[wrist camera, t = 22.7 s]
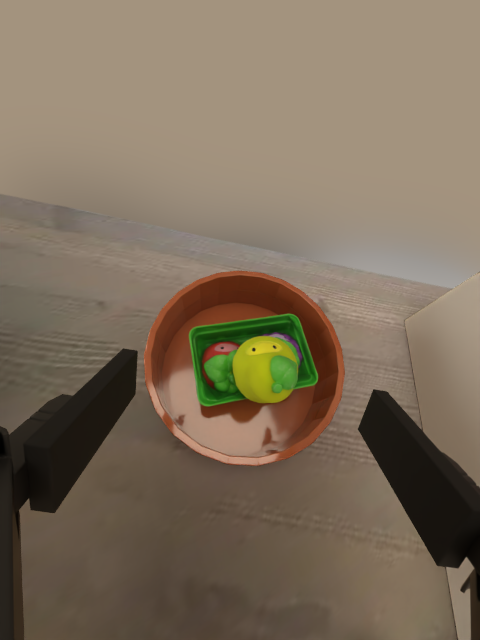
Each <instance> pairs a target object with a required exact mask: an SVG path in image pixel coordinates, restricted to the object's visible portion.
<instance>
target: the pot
mask: <svg viewBox="0 0 480 640" xmlns="http://www.w3.org/2000/svg"><path fill="white" fill-rule="evenodd" d="M283 314H294V315H295V316H297V317H298V319H299V321H300V323H301V326H302V329H303V332H304V335H305V338H306V341H307V344H308V347H309V350H310V353H311V356H312V359H313V362H314V366H315V368H316V371H317V374H318V381H317V383H316V384H315V385H313V386H309V387H303V388H298V389H293V391H292V392H291V394H290V395H289V396H288V397H287V398H286V399H284V400H282V401H280V402H277V403H257V402H254V401H251V400H249V399H243V400H238V401H233V402H228V403H223V404H219V405H214V406H209V407H208V406H203V405H202V404H200V402H199V401H198V398H197V391H196V383H195V375H194V368H193V361H192V354H191V347H190V341H189V332H190V330H191V329H192V328H194V327H197V326H204V325H212V324H219V323H227V322H234V321H240V320H248V319H256V318H263V317H269V316H276V315H283ZM144 366H145V383H146V386H147V389H148V392H149V394H150V397H151V400H152V403H153V406H154V408H155V411H156V412H157V414H158V415H159V416H160V418H161V419H162V420H163V422H164V423H165V424H166V426H167V427H168V429H169V430H170V431H171V433H172V434H173V435H174V436H175V437H177V438H178V439H179V440H181V441H182V442H183V443H185V444H186V445H187V446H189V447H190V448H191V449H193V450H194V451H195V452H197V453H198V454H201V455H203V456H206V457H209V458H212V459H214V460H217V461H220V462H222V463H225V464H230V465H249V466H261V465H265V464H269V463H272V462H276V461H280V460H284V459H287V458H290V457H291V456H293V455H294V454H296V453H298V452H299V451H301V450H303V449H304V448H306V447H307V446H309V445H311V444H312V443H313V442H314V441H315V440H316V439H317V437H318V436H319V435H320V434H321V433H322V432H323V430H324V429H325V428H326V427H327V426H328V425H329V423H330V422H331V420H332V418H333V416H334V413H335V411H336V409H337V407H338V404H339V402H340V400H341V397H342V390H343V382H344V375H345V370H344V363H343V355H342V348H341V346H340V343H339V341H338V338H337V335H336V333H335V330H334V328H333V326H332V324H331V323H330V321H329V320H328V318H327V317H326V315H325V314H324V313H323V311H322V310H321V308H320V307H319V306H318V305H317V304H316V303H315V302H314V301H313V300H312V299H310V298H309V297H308V296H307V295H306V294H305V293H304V292H302V291H301V290H300V289H298V288H296V287H294V286H293V285H291V284H289V283H288V282H286V281H284V280H282V279H279V278H276V277H273V276H270V275H267V274H264V273H258V272H248V271H231V272H221V273H216V274H213V275H210V276H208V277H205V278H202V279H199V280H197V281H195V282H193V283H192V284H190V285H189V286H187V287H185V288H184V289H182V290H181V291H179V292H178V293H177V294H176V295H175V296H174V297H173V298H172V299H171V300H170V301H169V302H168V303H167V304H166V305H165V306H164V307H163V308H162V310H161V311H160V313H159V315H158V317H157V319H156V320H155V322H154V324H153V326H152V328H151V330H150V332H149V336H148V341H147V345H146V350H145V354H144Z"/></svg>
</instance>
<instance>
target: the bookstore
mask: <svg viewBox="0 0 480 640" xmlns="http://www.w3.org/2000/svg"><path fill="white" fill-rule="evenodd" d="M404 321H405V327H406V333H407V339H408V345H409V351H410V357H411V363H412V369H413V375H414V381H415V387H416V393H417V398H418V404H419V410H420V416H421V422H422V428H423V432H424V433H425V435H426V436H427V437H428V438H429V439H430V440H431V441H432V442H433V443H434V445H435V446H436V447H437V448H438V449H439V450H440V451H441V452H443V453H445V454H446V455H448V456H449V457H450V458H451V459H453V460H454V461H455V462H457V463H458V464H459V466H460V467H461V468H462V469H463V470H464V471H465V472H466V473H467V474H468V476H470V477H471V478H472V480H473V481H474V482H475V483H476V485H477V486H479V487H480V272H478V273H477V274H475V275H474V276H472V277H471V278H469V279H468V280H466V281H464V282H463V283H461V284H460V285H458V286H457V287H455V288H454V289H452V290H451V291H449V292H448V293H446V294H444V295H443V296H441V297H440V298H438V299H437V300H435V301H434V302H432V303H431V304H429V305H427V306H426V307H424V308H423V309H421V310H420V311H418V312H417V313H415V314H414V315H412V316H411V317H409V318H407V319H406V320H404ZM473 569H474V567H473V566H472V564H471V563H470V561H469V560H468V558H467V557H466V558H465V559H464V561H463V562H462V564H461V565H460V567H459V568H458V569H457V568H450V567H446V571H447V577H448V583H449V589H450V595H451V601H452V607H453V612H454V618H455V624H456V630H457V636H458V640H471V615H470V589H467V590H466V592H465V593H463V592H461V591H460V589H461V586H462V585H463V583H464V582H465V580H466V579H467V578H468V576H469V575H470V573H471V572H472V571H473Z"/></svg>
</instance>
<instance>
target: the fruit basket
mask: <svg viewBox="0 0 480 640" xmlns="http://www.w3.org/2000/svg"><path fill="white" fill-rule="evenodd" d="M189 341H190V347H191V354H192V361H193V368H194V375H195V383H196V391H197V398H198V401H199V402H200V404H202V405H203V406H208V407H209V406H214V405H219V404H223V403H228V402H233V401H238V400H243V399H249V400H251V401H254V402H257V403H277V402H280V401H282V400H284V399H286V398H287V397H288V396H289V395H290V394H291V392H292V391H293V389H298V388H303V387H309V386H313V385H315V384H316V383H317V381H318V374H317V371H316V368H315V366H314V362H313V359H312V356H311V353H310V350H309V347H308V344H307V341H306V338H305V335H304V332H303V329H302V326H301V323H300V321H299V319H298V317H297V316H295V315H294V314H283V315H276V316H269V317H263V318H256V319H248V320H240V321H234V322H227V323H219V324H212V325H204V326H197V327H194V328H192V329H191V330H190V332H189Z"/></svg>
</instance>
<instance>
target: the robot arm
mask: <svg viewBox="0 0 480 640" xmlns="http://www.w3.org/2000/svg"><path fill="white" fill-rule="evenodd" d="M137 352H138V351H135V350H129V349H122V350H121V351H120V352H119V353H118V354H117V355H116V356H115V357H114V358H113V359H112V360H111V361H110V362H109V363H108V364H107V365H105V366H104V367H103V368H102V369H101V370H100V371H99V372H98V373H97V374H96V375H95V376H94V377H93V378H92V379H91V380H90V381H89V382H88V383H86V384H85V385H84V386H83V387H82V388H81V389H80V390H79V391H78V392H77V393H76V394H75V395H74V396H70V395H64V394H62V395H60V396H58V397H56V398H54V399H52V400H50V401H48V402H47V403H46V404H45V405H44V406H43V407H41V408H40V409H39V411H38V412H36V413H34V414H33V415H32V416H31V417H30V419H27V420H26V421H25V422H24V423H23V424H22V425H20V426H19V427H18V428H17V429H16V430H14V431H13V432H12V433H11V434H10V435H9V434H8V432H7V429H5V428H3V427H1V426H0V640H24V620H23V592H22V564H21V536H20V514H19V509H20V508H21V507H22V506H23V504H24V503H25V502H26V501H27V500H28V498H29V500H30V508H31V510H35V511H42V512H49V513H55V512H56V510H57V509H58V507H59V506H60V504H61V503H62V501H63V500H64V498H65V497H66V495H67V494H68V493H69V491H70V490H71V488H72V487H73V485H74V484H75V482H76V481H77V479H78V478H79V476H80V475H81V473H82V472H83V470H84V469H85V468H86V466H87V465H88V463H89V462H90V460H91V459H92V457H93V456H94V454H95V453H96V451H97V450H98V448H99V447H100V445H101V444H102V442H103V441H104V440H105V438H106V437H107V435H108V434H109V432H110V431H111V429H112V428H113V426H114V425H115V423H116V422H117V420H118V419H119V417H120V416H121V415H122V413H123V412H124V410H125V409H126V407H127V406H128V404H129V403H130V401H131V400H132V398H133V397H134V395H135V390H136V371H137ZM358 430H359V432H360V433H361V435H362V437H363V439H364V440H365V442H366V444H367V446H368V447H369V449H370V451H371V452H372V454H373V456H374V458H375V459H376V461H377V463H378V464H379V466H380V468H381V470H382V471H383V473H384V475H385V477H386V478H387V480H388V482H389V483H390V485H391V487H392V489H393V490H394V492H395V494H396V496H397V497H398V499H399V501H400V502H401V504H402V506H403V508H404V509H405V511H406V513H407V515H408V516H409V518H410V520H411V521H412V523H413V525H414V527H415V528H416V530H417V532H418V533H419V535H420V537H421V539H422V540H423V542H424V544H425V546H426V547H427V549H428V551H429V552H430V554H431V556H432V558H433V559H434V561H435V563H436V565H437V566H443V567H450V568H457V569H458V568H459V567H460V565H461V564H462V562H463V561H464V559H465V558H466V557H467V558H468V560H469V561H470V563H471V564H472V566H473V567H474V569H473V571H472V572H471V573H470V575H469V576H468V578H467V579H466V580H465V582H464V583H463V585H462V586H461V589H460V591H461V592H463V593H465V592H466V590H467V589H470V615H471V640H480V487H479V486H477V485H476V483H475V482H474V481H473V480H472V478H471V477H470V476H468V474H467V473H466V472H465V471H464V470H463V469H462V468H461V467H460V466H459V464H458V463H457V462H455V461H454V460H453V459H451V458H450V457H449V456H448V455H446V454H445V453H443V452H441V451H440V450H439V449H438V448H437V447H436V446H435V445H434V443H433V442H432V441H431V440H430V439H429V438H428V437H427V436H426V435H425V433H424V432H423V431H422V430H421V429H420V428H419V427H418V426H417V425H416V423H415V422H414V421H413V420H412V419H411V418H410V417H409V416H408V415H407V413H406V412H405V411H404V410H403V409H402V408H401V407H400V406H399V405H398V403H397V402H396V401H395V400H394V399H393V398H392V397H391V396H390V395H389V393H388V392H386V391H380V390H373V392H372V395H371V397H370V400H369V402H368V405H367V407H366V410H365V413H364V415H363V418H362V420H361V423H360V425H359V428H358Z"/></svg>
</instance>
